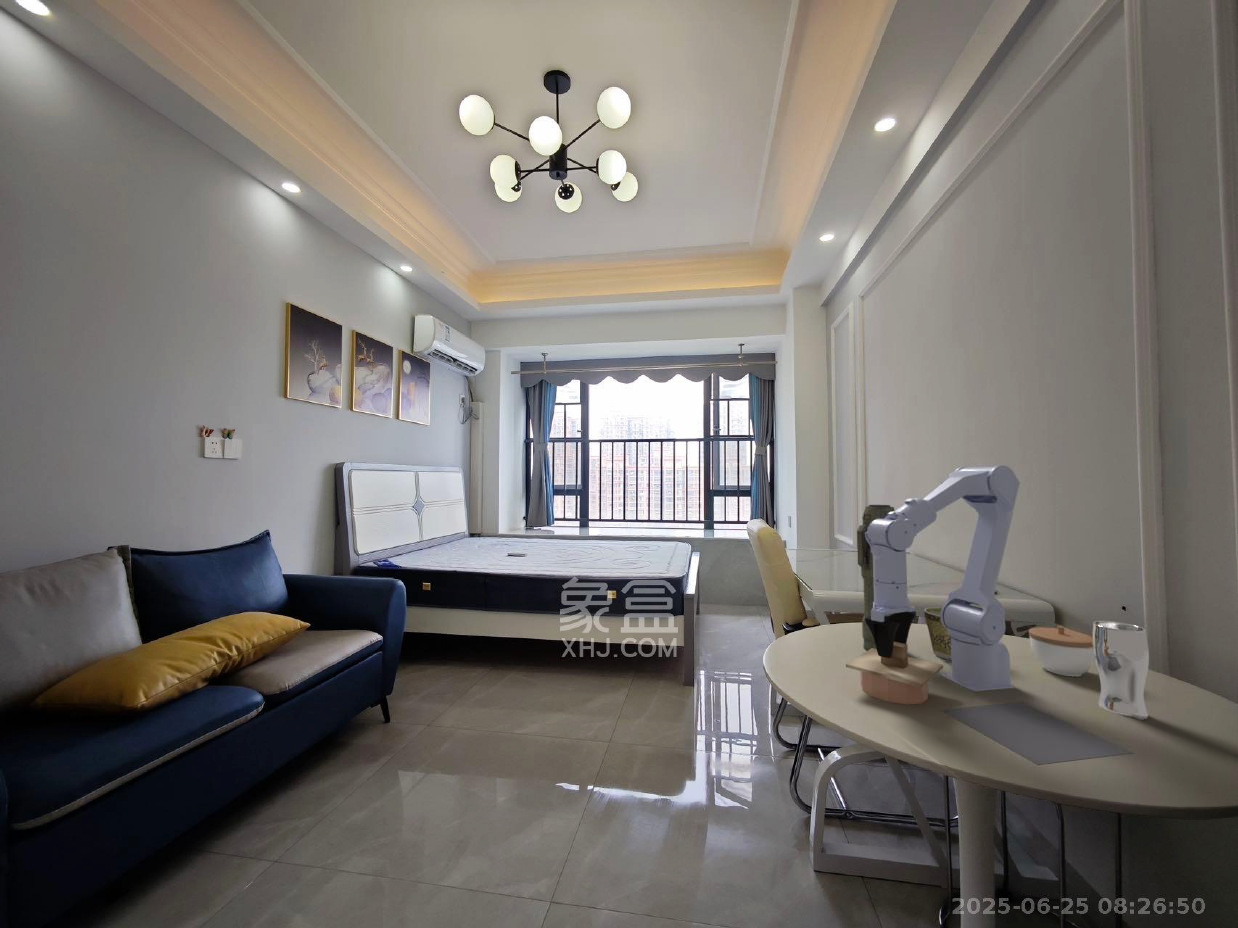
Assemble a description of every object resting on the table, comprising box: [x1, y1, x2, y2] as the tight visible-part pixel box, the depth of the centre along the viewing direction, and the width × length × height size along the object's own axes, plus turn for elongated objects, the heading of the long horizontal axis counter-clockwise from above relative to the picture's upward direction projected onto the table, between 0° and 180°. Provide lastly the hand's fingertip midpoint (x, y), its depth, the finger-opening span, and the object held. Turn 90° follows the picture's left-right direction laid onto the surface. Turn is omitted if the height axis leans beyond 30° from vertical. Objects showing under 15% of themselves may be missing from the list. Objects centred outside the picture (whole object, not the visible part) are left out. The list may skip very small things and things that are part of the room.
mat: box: [940, 701, 1135, 766], centre depth 79 cm, size 17×17×1 cm
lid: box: [845, 642, 944, 687], centre depth 94 cm, size 13×13×5 cm
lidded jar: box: [1028, 625, 1095, 678], centre depth 105 cm, size 11×11×9 cm
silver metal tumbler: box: [1091, 620, 1150, 721], centre depth 86 cm, size 7×7×15 cm
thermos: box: [856, 504, 896, 651], centre depth 119 cm, size 9×12×35 cm
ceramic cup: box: [923, 606, 952, 661], centre depth 115 cm, size 13×10×10 cm
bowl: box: [859, 671, 929, 705], centre depth 94 cm, size 11×11×5 cm
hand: (892, 651), depth 94 cm, fingers open, 7 cm apart
